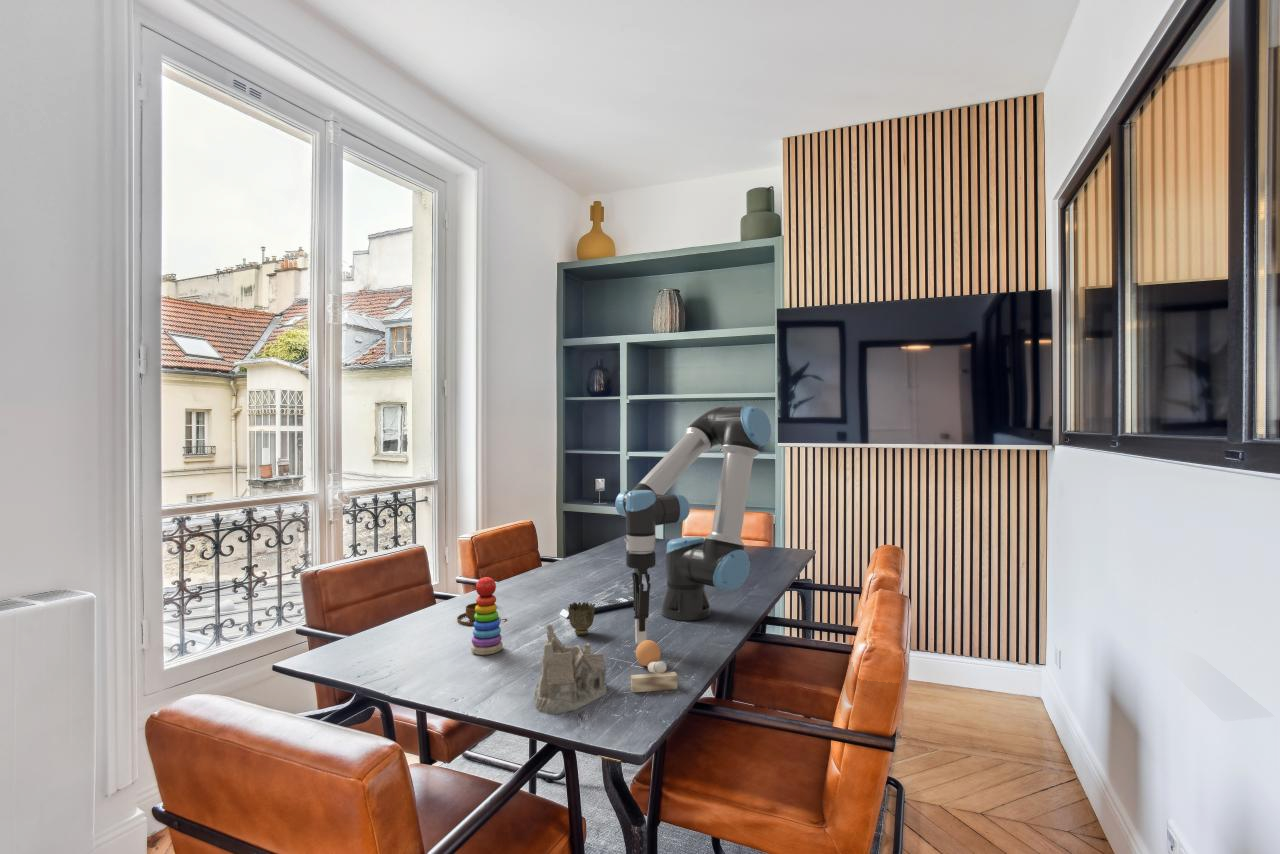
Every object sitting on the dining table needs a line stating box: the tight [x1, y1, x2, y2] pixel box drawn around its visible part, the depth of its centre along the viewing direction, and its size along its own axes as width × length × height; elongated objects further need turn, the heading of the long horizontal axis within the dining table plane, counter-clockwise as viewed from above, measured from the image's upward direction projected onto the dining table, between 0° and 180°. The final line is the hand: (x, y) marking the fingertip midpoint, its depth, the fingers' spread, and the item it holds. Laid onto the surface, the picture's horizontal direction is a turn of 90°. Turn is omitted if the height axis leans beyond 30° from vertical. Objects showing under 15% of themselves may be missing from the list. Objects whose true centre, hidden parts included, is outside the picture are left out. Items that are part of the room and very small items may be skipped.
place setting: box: [456, 602, 508, 627], centre depth 192 cm, size 18×20×6 cm
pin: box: [647, 660, 668, 674], centre depth 144 cm, size 2×2×8 cm
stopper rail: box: [630, 671, 678, 694], centre depth 138 cm, size 10×2×3 cm, turn 100°
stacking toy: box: [470, 576, 504, 656], centre depth 162 cm, size 8×8×19 cm
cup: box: [567, 601, 596, 637], centre depth 175 cm, size 8×7×8 cm
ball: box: [635, 639, 662, 668], centre depth 152 cm, size 6×6×6 cm
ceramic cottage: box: [533, 623, 608, 714], centre depth 136 cm, size 16×16×15 cm
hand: (641, 642), depth 162 cm, fingers closed
